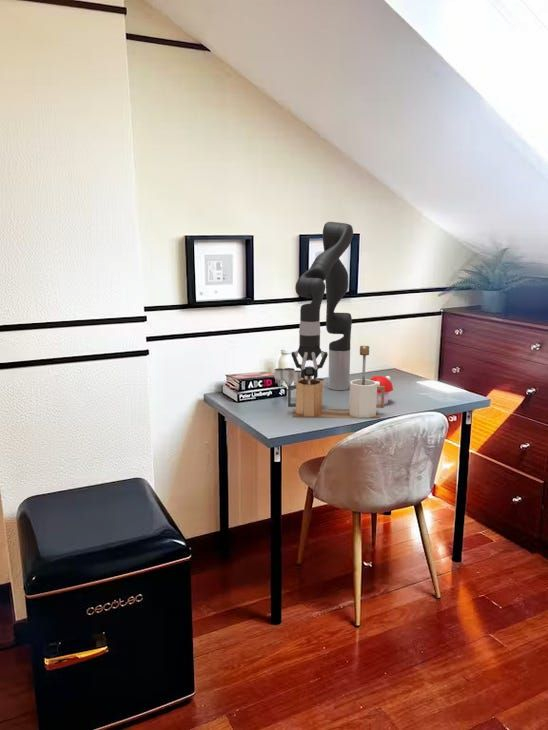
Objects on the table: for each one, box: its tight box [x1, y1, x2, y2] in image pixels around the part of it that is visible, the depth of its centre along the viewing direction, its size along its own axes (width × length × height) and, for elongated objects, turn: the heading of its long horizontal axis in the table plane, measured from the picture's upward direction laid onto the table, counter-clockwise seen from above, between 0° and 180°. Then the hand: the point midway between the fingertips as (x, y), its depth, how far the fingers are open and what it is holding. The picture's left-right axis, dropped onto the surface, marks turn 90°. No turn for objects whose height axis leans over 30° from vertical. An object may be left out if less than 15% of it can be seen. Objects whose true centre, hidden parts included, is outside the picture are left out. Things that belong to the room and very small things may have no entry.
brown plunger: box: [359, 345, 370, 385], centre depth 226 cm, size 7×7×16 cm
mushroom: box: [369, 375, 394, 405], centre depth 244 cm, size 11×11×12 cm
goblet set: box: [273, 367, 326, 393], centre depth 246 cm, size 28×6×13 cm, turn 39°
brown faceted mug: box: [287, 378, 323, 417], centre depth 229 cm, size 10×13×12 cm
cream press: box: [348, 378, 385, 419], centre depth 229 cm, size 10×13×12 cm
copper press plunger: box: [304, 365, 314, 385], centre depth 229 cm, size 7×7×16 cm
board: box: [292, 408, 381, 419], centre depth 230 cm, size 11×32×1 cm, turn 88°
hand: (309, 378), depth 228 cm, fingers closed on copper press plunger, 3 cm apart
